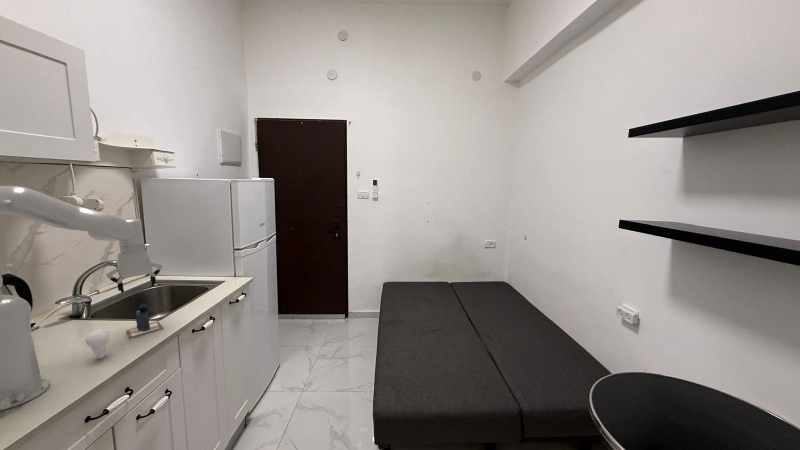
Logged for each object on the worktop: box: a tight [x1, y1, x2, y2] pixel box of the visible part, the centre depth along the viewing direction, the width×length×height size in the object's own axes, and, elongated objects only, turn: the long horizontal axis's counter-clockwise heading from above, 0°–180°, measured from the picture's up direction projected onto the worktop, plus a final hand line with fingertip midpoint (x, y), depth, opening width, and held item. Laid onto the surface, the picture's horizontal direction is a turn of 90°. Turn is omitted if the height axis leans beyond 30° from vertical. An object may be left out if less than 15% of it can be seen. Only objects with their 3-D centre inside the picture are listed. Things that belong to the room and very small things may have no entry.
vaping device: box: [135, 302, 150, 331], centre depth 124 cm, size 3×5×12 cm, turn 74°
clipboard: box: [125, 320, 164, 340], centre depth 126 cm, size 9×11×1 cm
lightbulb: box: [84, 328, 111, 359], centre depth 105 cm, size 6×6×11 cm
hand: (138, 288), depth 122 cm, fingers open, 9 cm apart
